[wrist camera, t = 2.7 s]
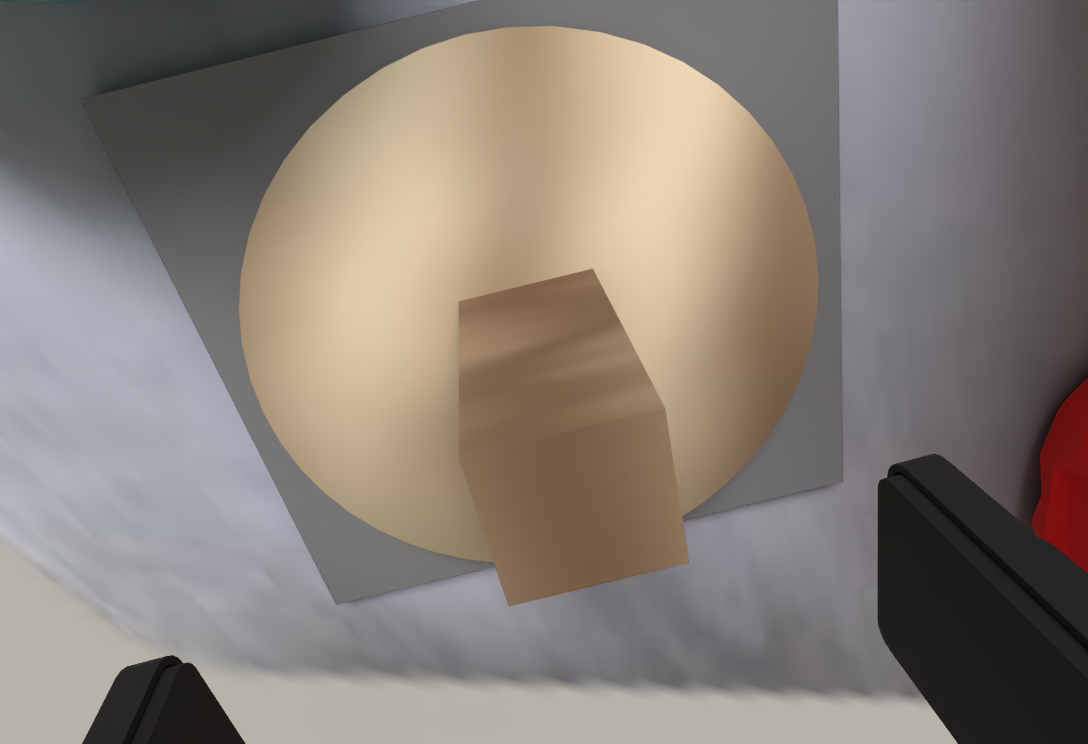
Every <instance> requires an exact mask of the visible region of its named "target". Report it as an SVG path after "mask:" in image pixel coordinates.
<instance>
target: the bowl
mask: <svg viewBox="0 0 1088 744" xmlns="http://www.w3.org/2000/svg"><path fill="white" fill-rule="evenodd" d="M0 1H42V2H88V0H0Z"/></svg>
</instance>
